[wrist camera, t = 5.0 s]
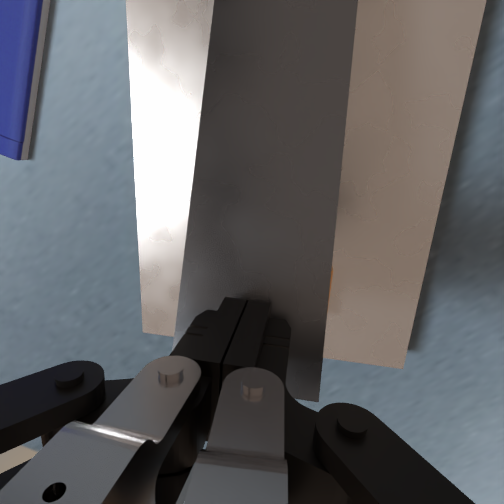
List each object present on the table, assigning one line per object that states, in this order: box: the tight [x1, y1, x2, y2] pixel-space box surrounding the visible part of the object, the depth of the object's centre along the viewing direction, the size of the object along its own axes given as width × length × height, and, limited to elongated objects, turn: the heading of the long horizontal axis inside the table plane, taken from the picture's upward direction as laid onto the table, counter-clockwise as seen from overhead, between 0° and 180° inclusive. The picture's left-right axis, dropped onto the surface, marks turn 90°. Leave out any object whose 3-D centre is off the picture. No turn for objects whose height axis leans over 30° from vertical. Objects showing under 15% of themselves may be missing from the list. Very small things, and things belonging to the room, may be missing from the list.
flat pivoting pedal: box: [172, 0, 358, 402], centre depth 12 cm, size 19×5×2 cm, turn 177°
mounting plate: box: [126, 0, 486, 369], centre depth 17 cm, size 24×16×5 cm, turn 177°
